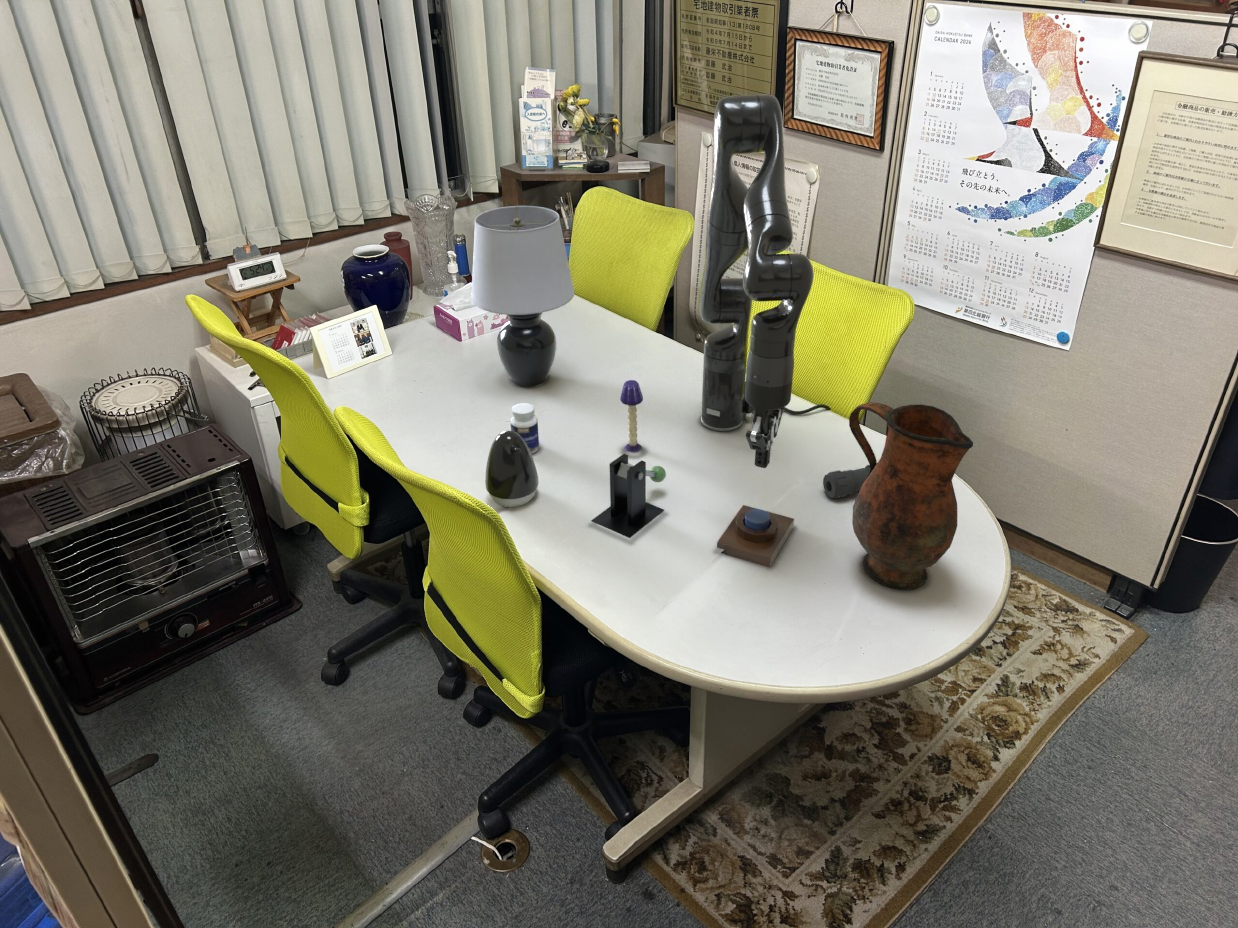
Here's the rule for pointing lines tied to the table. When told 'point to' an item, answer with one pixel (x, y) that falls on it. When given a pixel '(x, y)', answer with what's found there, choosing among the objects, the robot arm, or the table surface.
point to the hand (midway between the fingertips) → (761, 465)
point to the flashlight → (844, 482)
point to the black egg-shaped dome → (510, 471)
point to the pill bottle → (526, 425)
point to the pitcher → (908, 493)
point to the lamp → (521, 284)
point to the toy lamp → (632, 411)
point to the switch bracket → (627, 500)
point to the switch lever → (655, 473)
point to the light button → (757, 519)
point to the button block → (755, 538)
